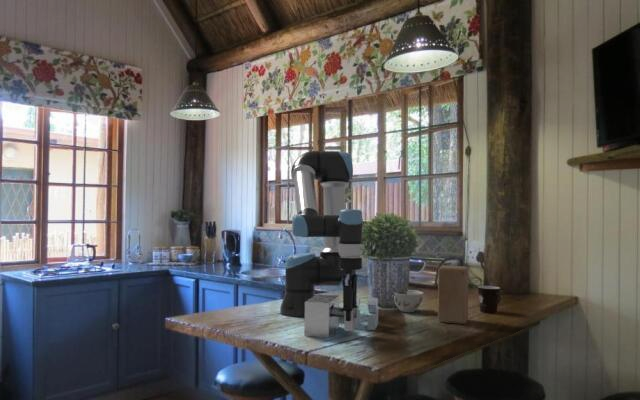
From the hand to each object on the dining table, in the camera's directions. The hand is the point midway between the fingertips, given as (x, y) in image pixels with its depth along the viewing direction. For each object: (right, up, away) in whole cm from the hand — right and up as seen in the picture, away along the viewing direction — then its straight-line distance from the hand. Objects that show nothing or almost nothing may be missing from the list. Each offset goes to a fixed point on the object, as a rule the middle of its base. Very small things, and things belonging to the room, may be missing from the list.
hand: (349, 329), depth 165 cm
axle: (-6, +4, +1) cm, 7 cm away
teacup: (+27, -4, +43) cm, 51 cm away
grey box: (-9, -2, +5) cm, 10 cm away
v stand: (+6, -2, +13) cm, 14 cm away
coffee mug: (+59, -4, +41) cm, 72 cm away
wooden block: (+40, -3, +24) cm, 47 cm away
